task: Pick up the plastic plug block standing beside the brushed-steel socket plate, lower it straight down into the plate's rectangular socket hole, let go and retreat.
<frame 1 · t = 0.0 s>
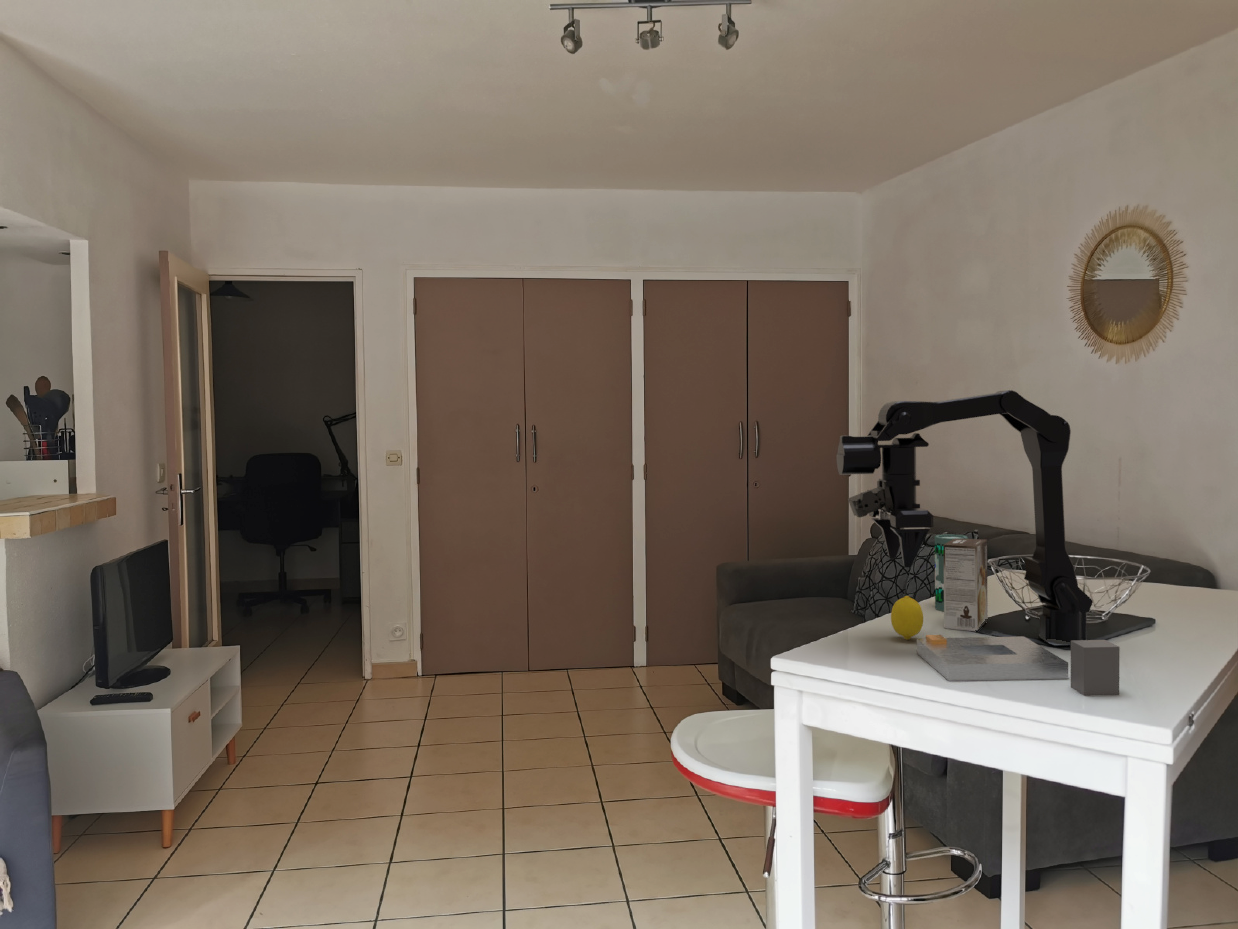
hand: (899, 562, 158), 15 cm above the table, fingers open, 9 cm apart
plug: (1094, 691, 132), on the table
coffee box: (966, 626, 173), on the table
lemon: (907, 641, 163), on the table
can: (951, 610, 187), on the table
socket plate: (988, 665, 146), on the table
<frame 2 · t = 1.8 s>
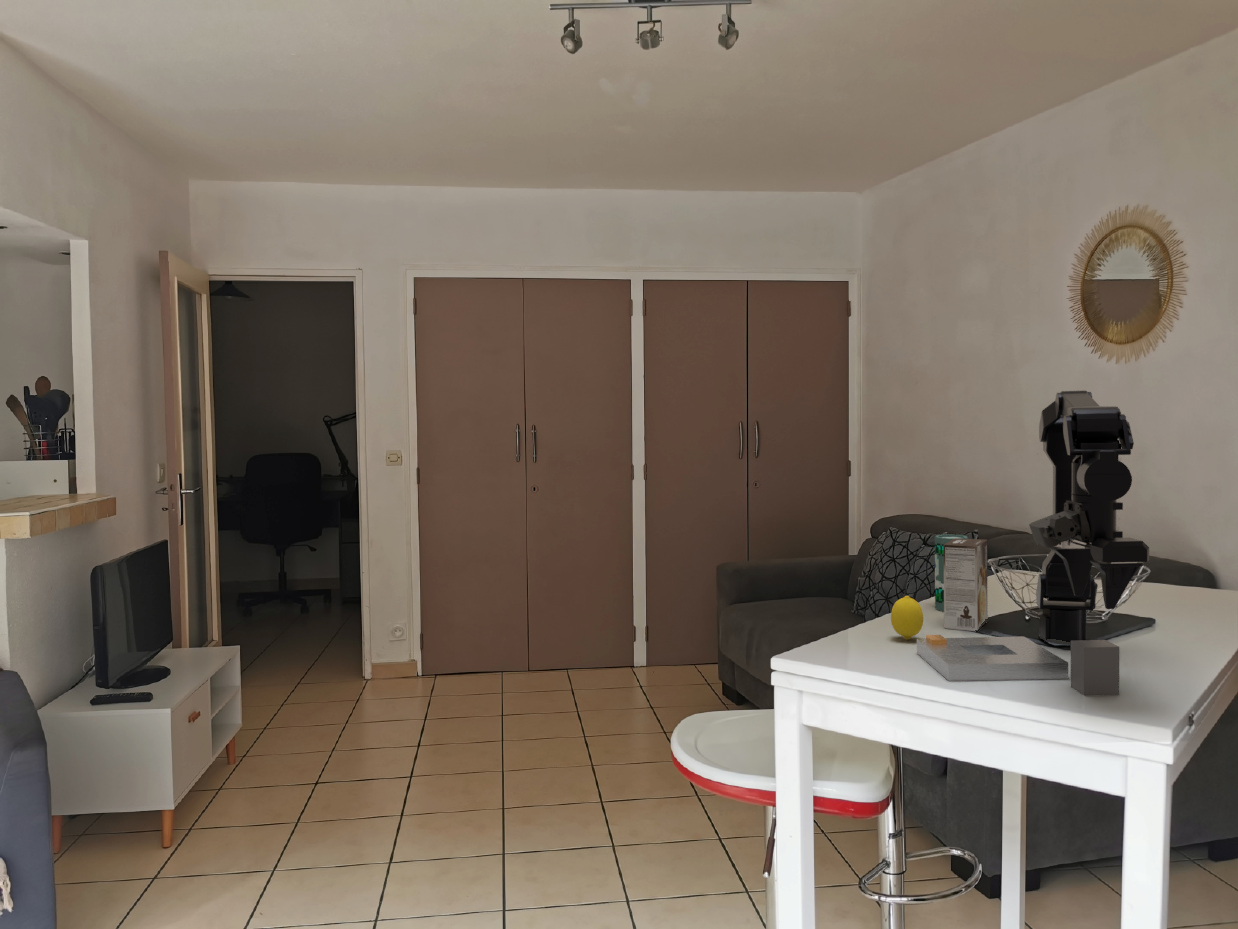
hand: (1093, 602, 131), 13 cm above the table, fingers open, 9 cm apart
nothing on the table moved.
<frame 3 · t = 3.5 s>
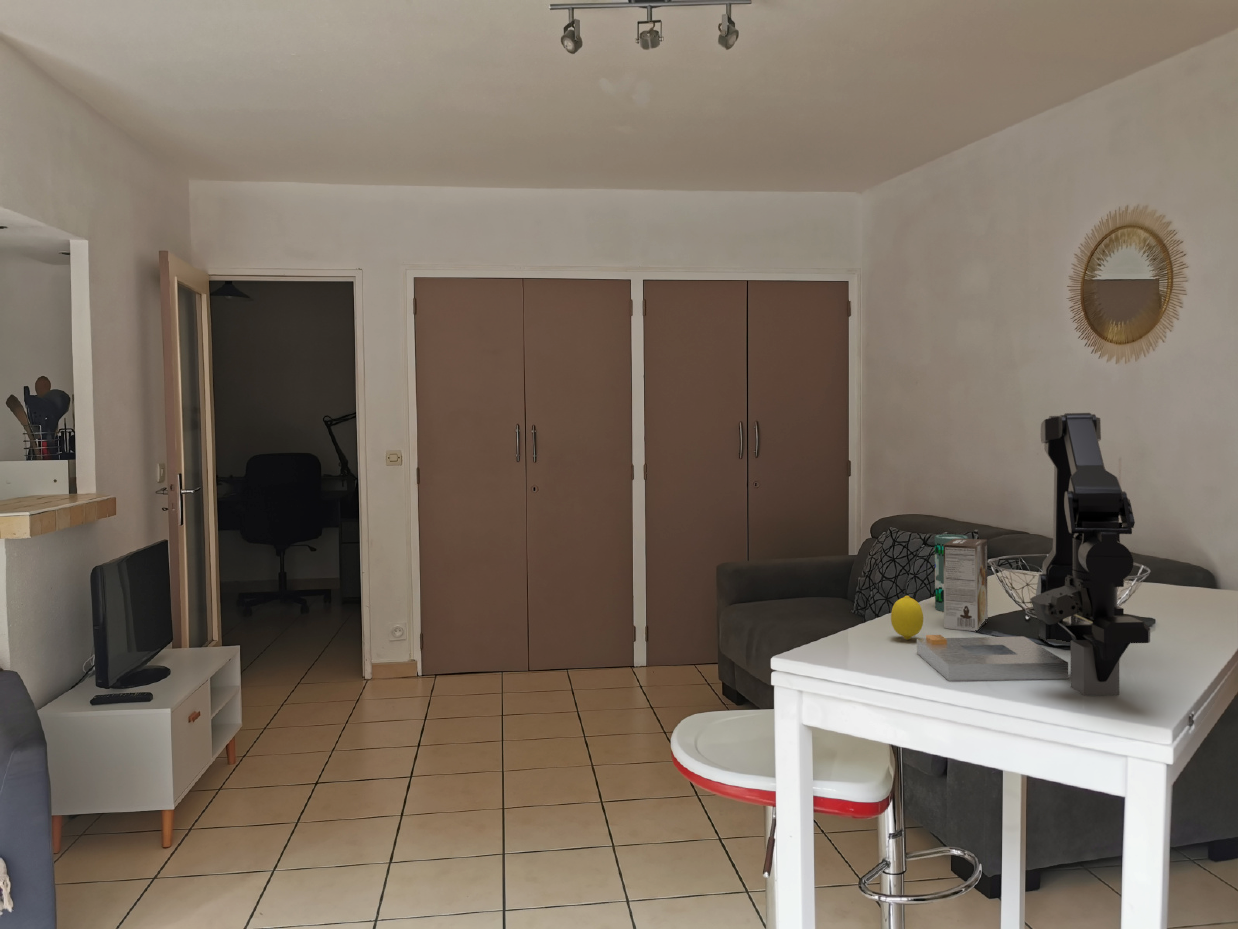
hand: (1094, 677, 132), 2 cm above the table, fingers closed on plug, 4 cm apart
plug: (1094, 691, 132), on the table, touching gripper
everything else where it was.
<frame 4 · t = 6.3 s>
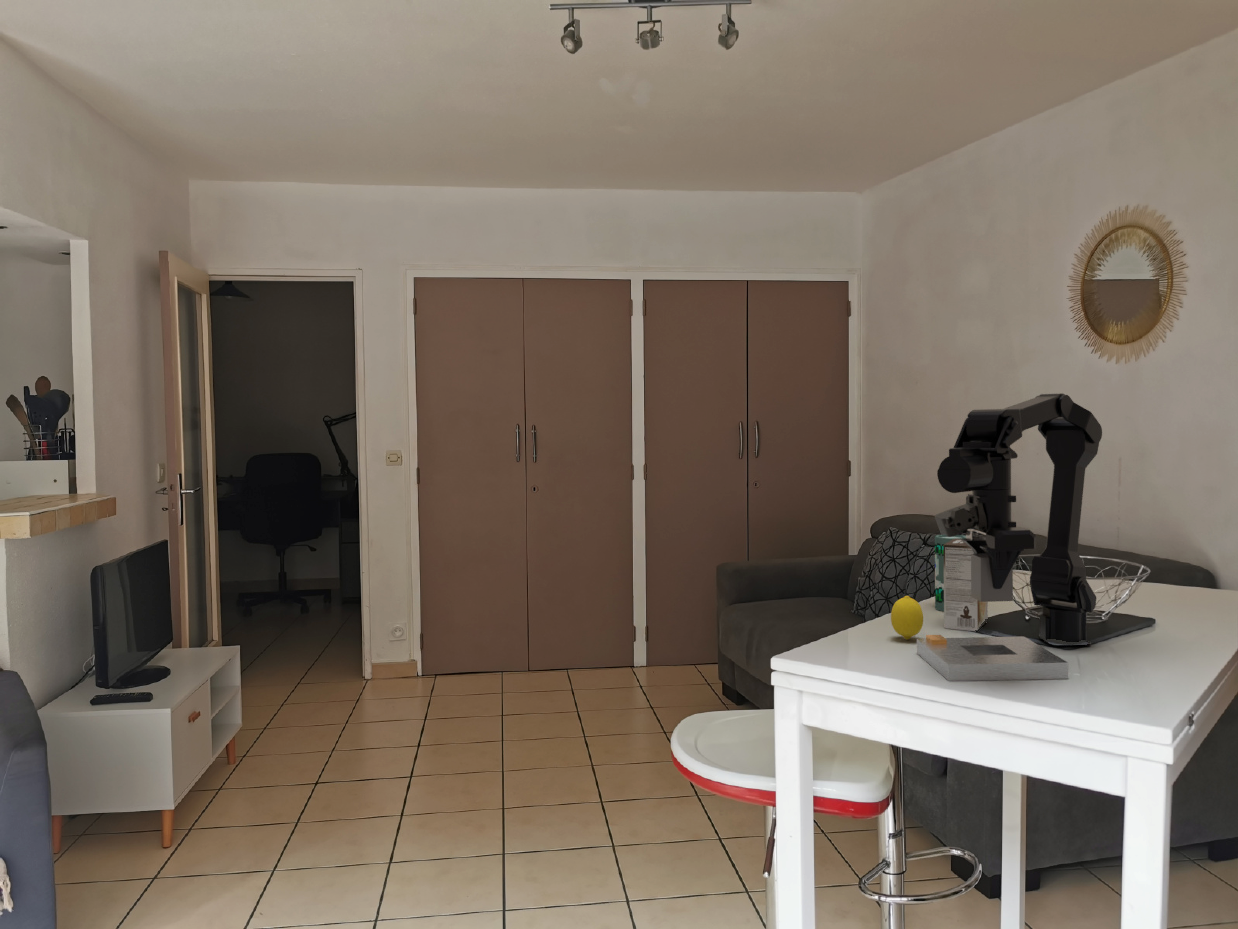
hand: (991, 586, 145), 13 cm above the table, fingers closed on plug, 4 cm apart
plug: (991, 598, 145), point 11 cm above the table, touching gripper
everything else where it was.
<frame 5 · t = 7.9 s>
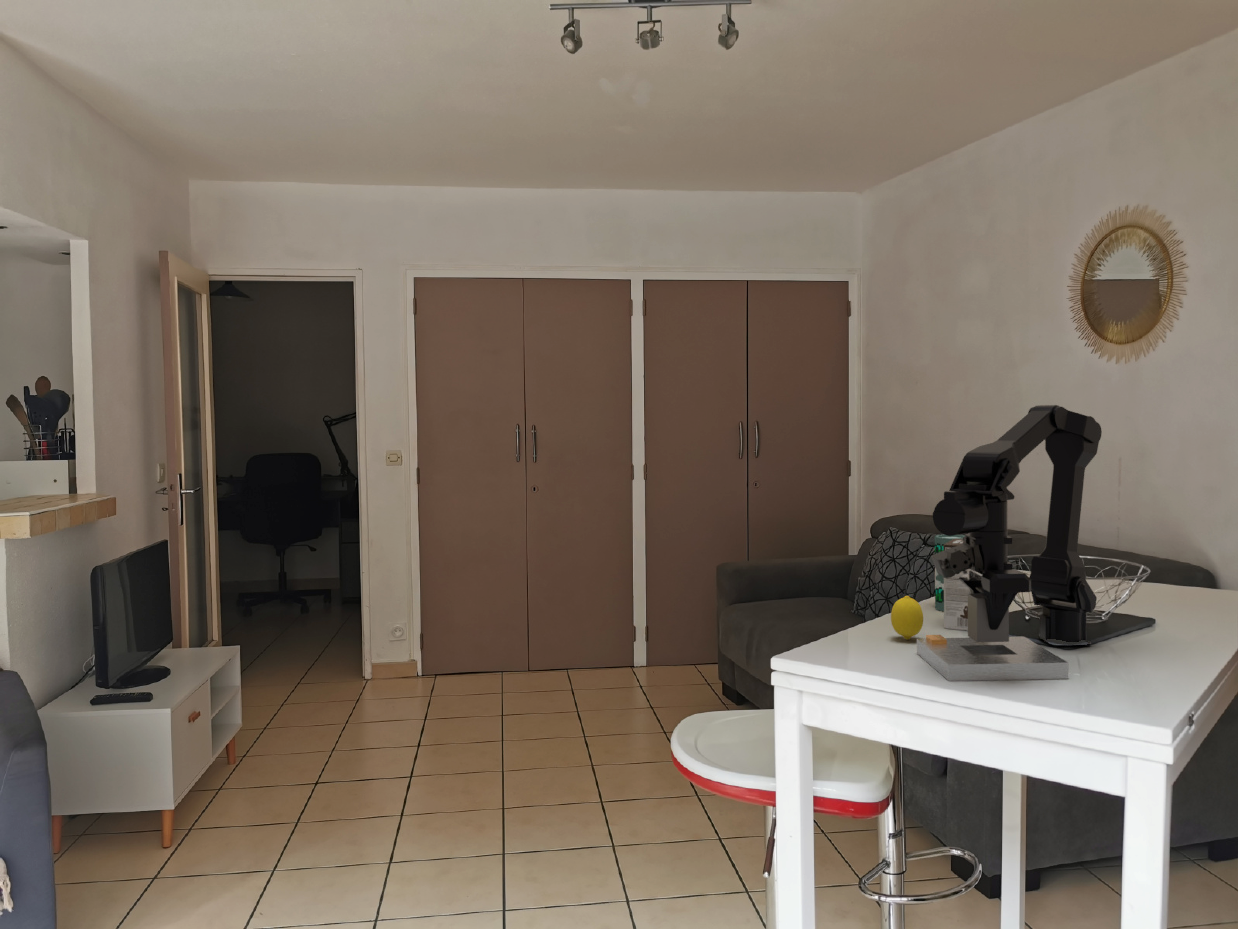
hand: (988, 626, 146), 6 cm above the table, fingers closed on plug, 4 cm apart
plug: (988, 638, 146), point 4 cm above the table, touching gripper
everything else where it was.
when the fingers open (4 cm above the table, at t = 9.4 s): plug drops 2 cm, resting in socket plate.
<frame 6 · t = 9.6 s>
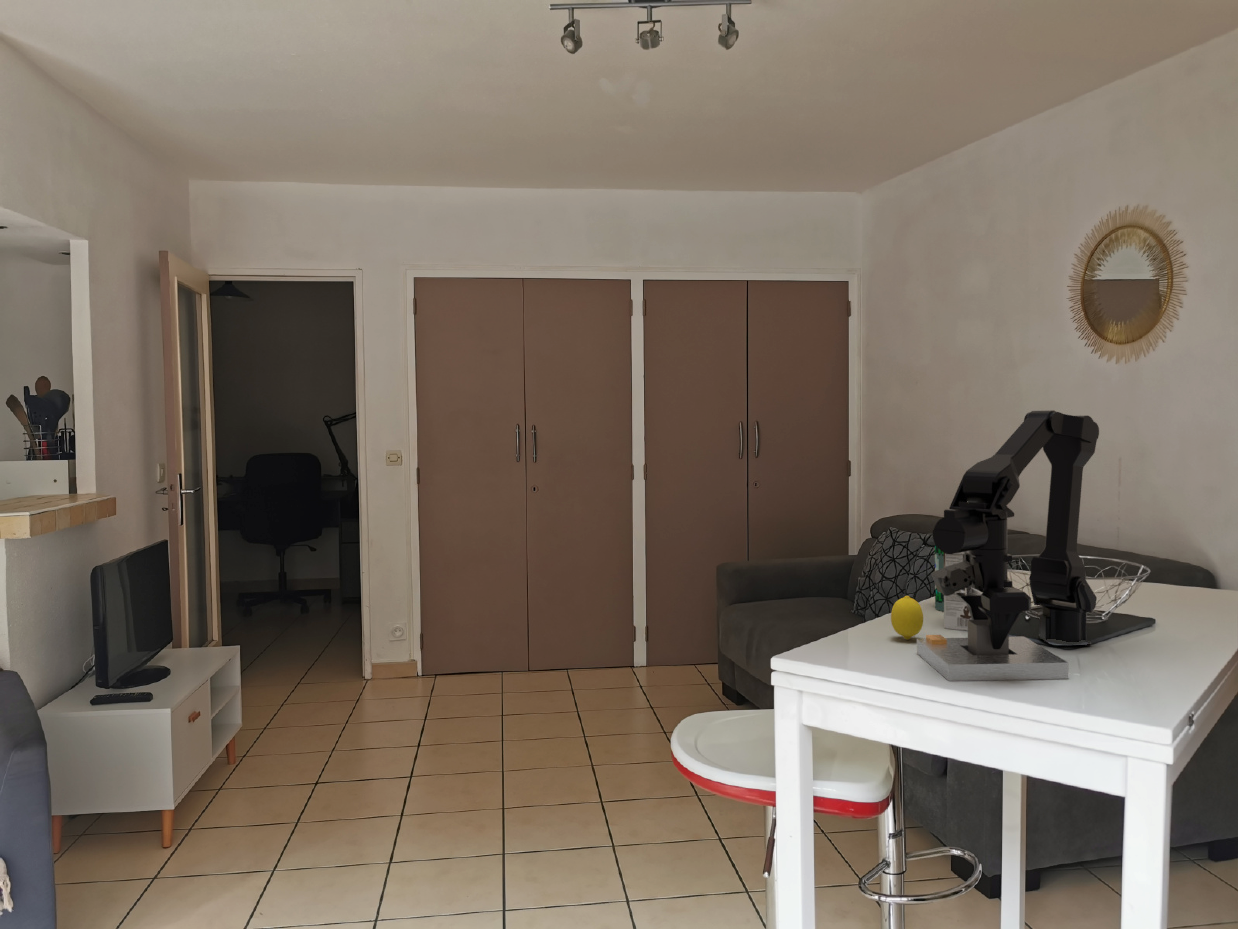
hand: (988, 643, 146), 4 cm above the table, fingers open, 6 cm apart
plug: (988, 665, 146), resting in socket plate
everything else where it was.
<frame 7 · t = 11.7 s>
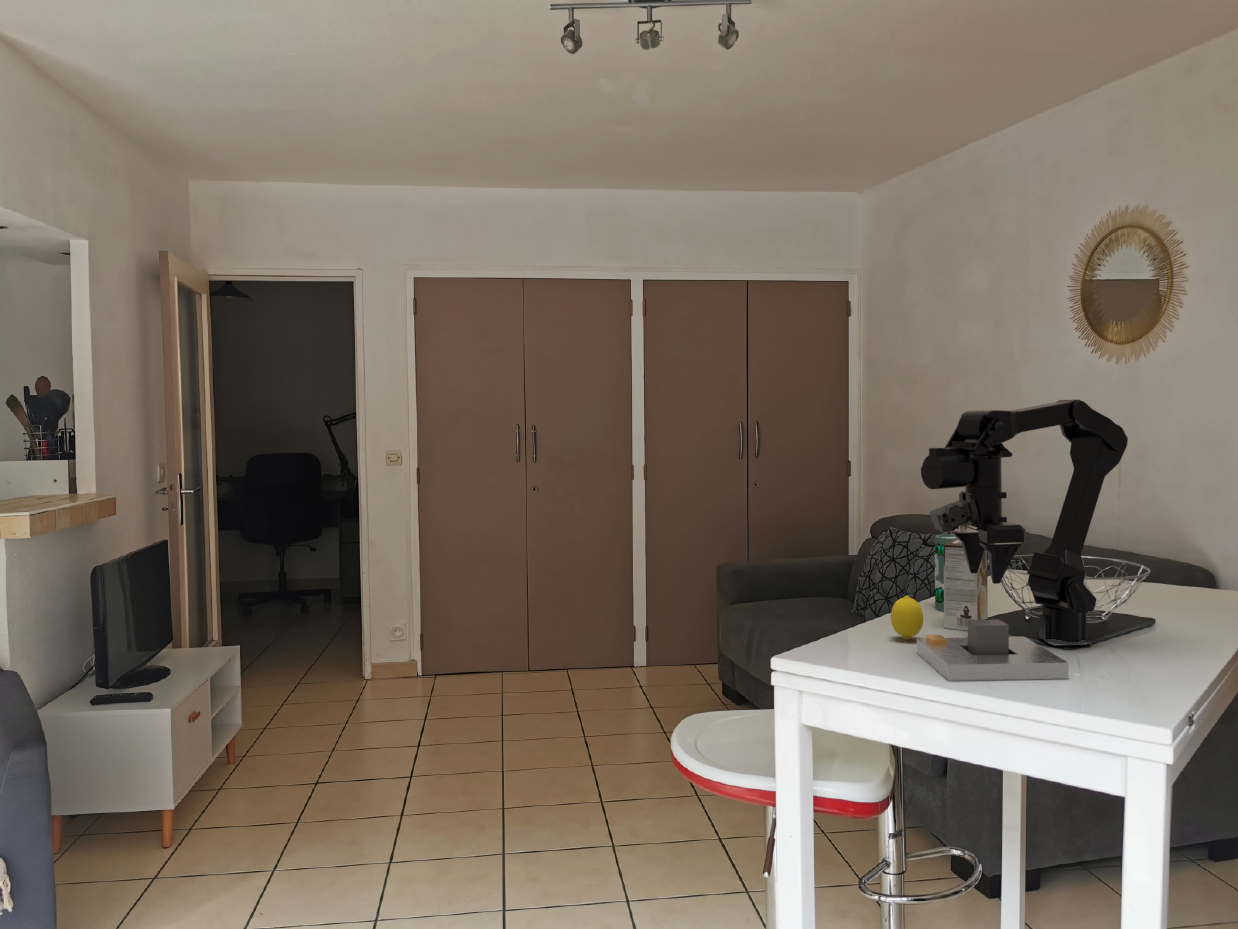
hand: (984, 578, 152), 13 cm above the table, fingers open, 9 cm apart
nothing on the table moved.
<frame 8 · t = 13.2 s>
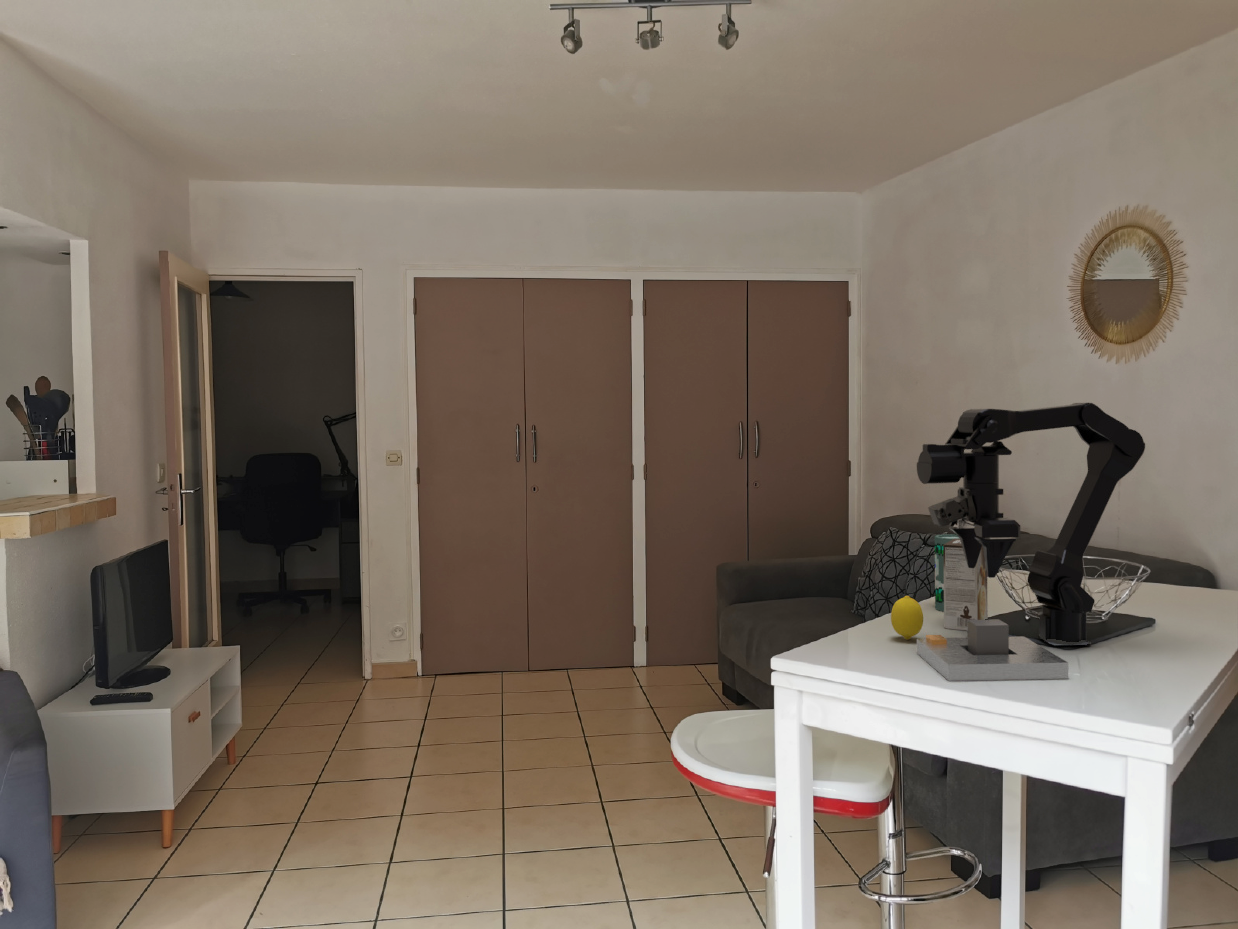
hand: (981, 572, 156), 13 cm above the table, fingers open, 9 cm apart
nothing on the table moved.
at the end: plug 0.0 cm off-centre on the socket plate, point 0.0 cm above the socket plate's base; plug tilted 0°; the gripper is holding nothing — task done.
